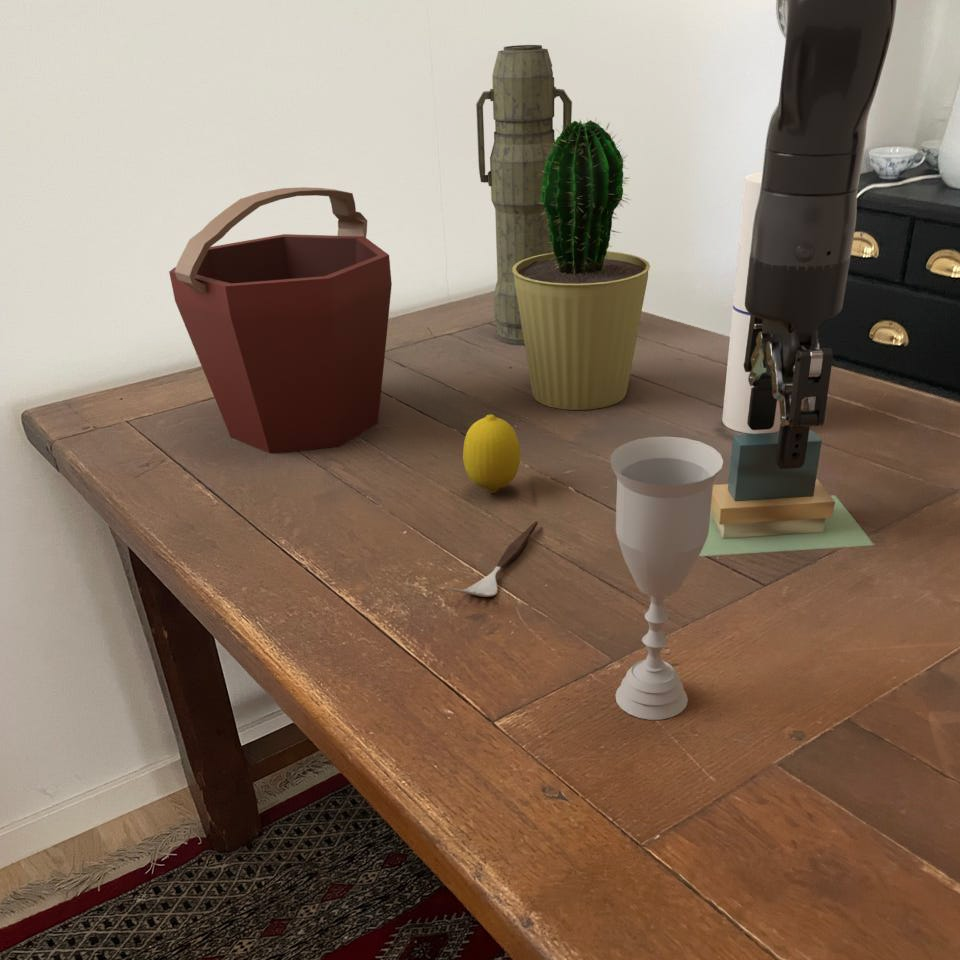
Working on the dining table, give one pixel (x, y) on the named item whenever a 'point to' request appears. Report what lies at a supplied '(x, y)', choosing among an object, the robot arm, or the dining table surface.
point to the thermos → (518, 167)
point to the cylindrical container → (742, 323)
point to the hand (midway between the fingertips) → (773, 446)
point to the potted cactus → (581, 279)
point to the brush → (770, 491)
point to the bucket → (289, 325)
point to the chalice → (660, 549)
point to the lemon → (491, 453)
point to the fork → (499, 567)
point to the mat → (792, 537)
